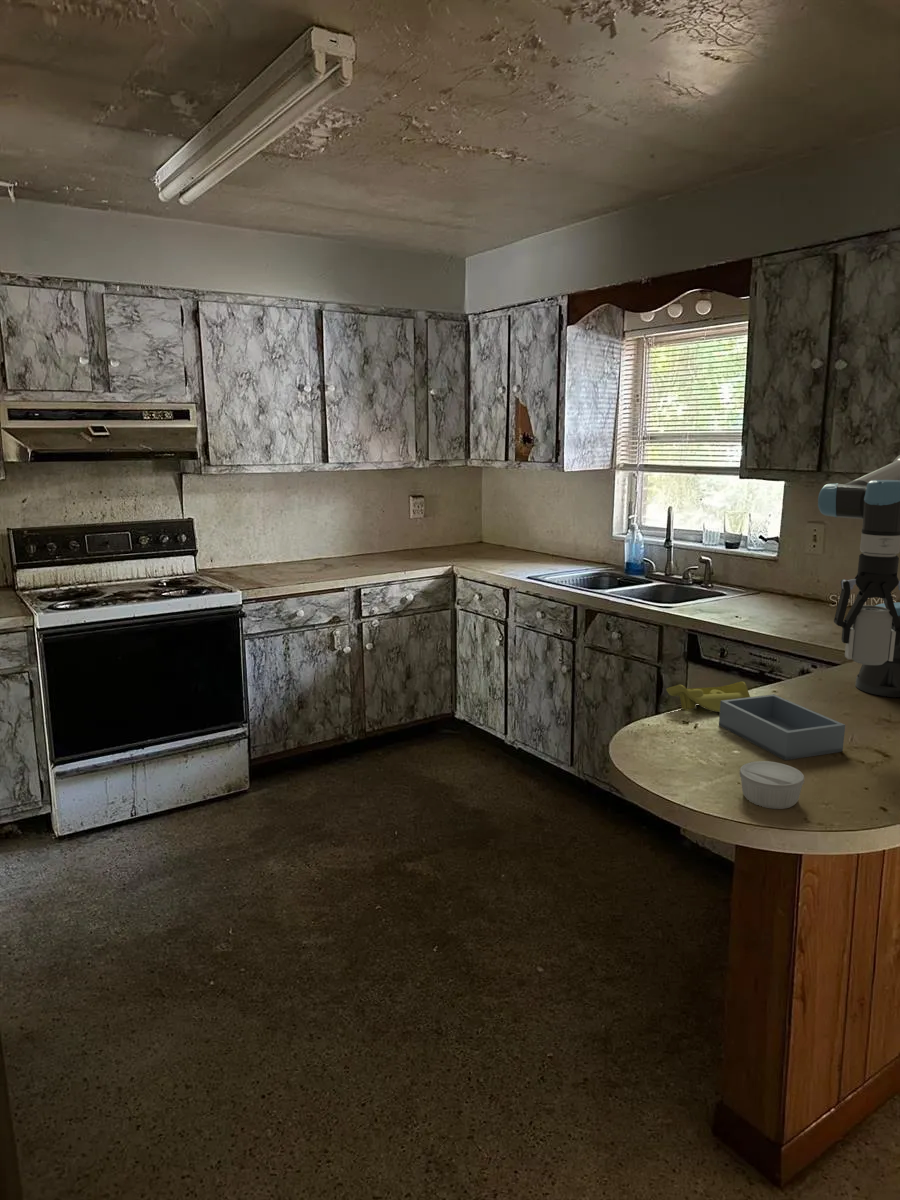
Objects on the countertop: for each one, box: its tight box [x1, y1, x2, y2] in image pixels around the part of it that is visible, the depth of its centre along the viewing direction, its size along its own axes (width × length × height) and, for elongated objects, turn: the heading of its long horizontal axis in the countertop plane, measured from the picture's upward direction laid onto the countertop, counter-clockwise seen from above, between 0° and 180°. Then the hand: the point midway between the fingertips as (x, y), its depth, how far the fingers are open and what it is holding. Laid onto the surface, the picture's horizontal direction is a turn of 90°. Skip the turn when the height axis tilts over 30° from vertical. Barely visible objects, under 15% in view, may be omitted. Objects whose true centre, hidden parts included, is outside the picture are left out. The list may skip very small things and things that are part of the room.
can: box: [851, 604, 893, 665], centre depth 180 cm, size 8×8×12 cm
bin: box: [718, 693, 846, 761], centre depth 186 cm, size 15×22×6 cm
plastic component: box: [665, 681, 751, 713], centre depth 207 cm, size 20×7×10 cm
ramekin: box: [739, 760, 805, 810], centre depth 155 cm, size 11×11×5 cm
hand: (868, 658), depth 181 cm, fingers closed on can, 7 cm apart
